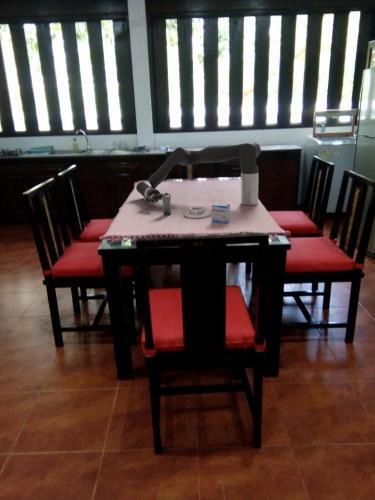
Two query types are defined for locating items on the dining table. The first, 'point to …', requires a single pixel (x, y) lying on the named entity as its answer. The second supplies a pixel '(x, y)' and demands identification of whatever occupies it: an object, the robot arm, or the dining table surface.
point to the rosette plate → (197, 212)
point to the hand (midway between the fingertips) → (161, 200)
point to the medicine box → (220, 213)
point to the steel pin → (166, 205)
